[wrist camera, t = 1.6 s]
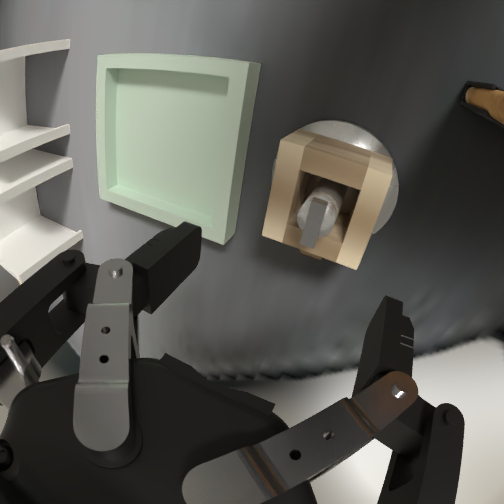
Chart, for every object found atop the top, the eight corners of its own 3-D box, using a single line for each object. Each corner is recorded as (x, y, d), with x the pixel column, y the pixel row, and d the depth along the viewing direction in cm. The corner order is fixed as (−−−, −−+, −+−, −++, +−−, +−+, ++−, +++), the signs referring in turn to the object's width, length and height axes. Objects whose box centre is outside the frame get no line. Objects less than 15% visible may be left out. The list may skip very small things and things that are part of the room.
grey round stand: (287, 104, 20) (244, 118, 15) (415, 144, 18) (427, 175, 13) (266, 215, 26) (224, 263, 20) (374, 254, 23) (363, 316, 18)
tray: (114, 53, 23) (97, 55, 21) (261, 63, 19) (249, 62, 18) (113, 190, 31) (99, 198, 29) (234, 233, 28) (223, 245, 26)
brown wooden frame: (299, 128, 20) (280, 139, 17) (391, 158, 19) (392, 176, 15) (277, 228, 25) (257, 255, 22) (356, 257, 23) (348, 289, 20)
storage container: (25, 49, 26) (-48, 68, 18) (71, 38, 23) (-20, 55, 15) (41, 215, 41) (-14, 252, 32) (84, 237, 38) (22, 283, 29)
